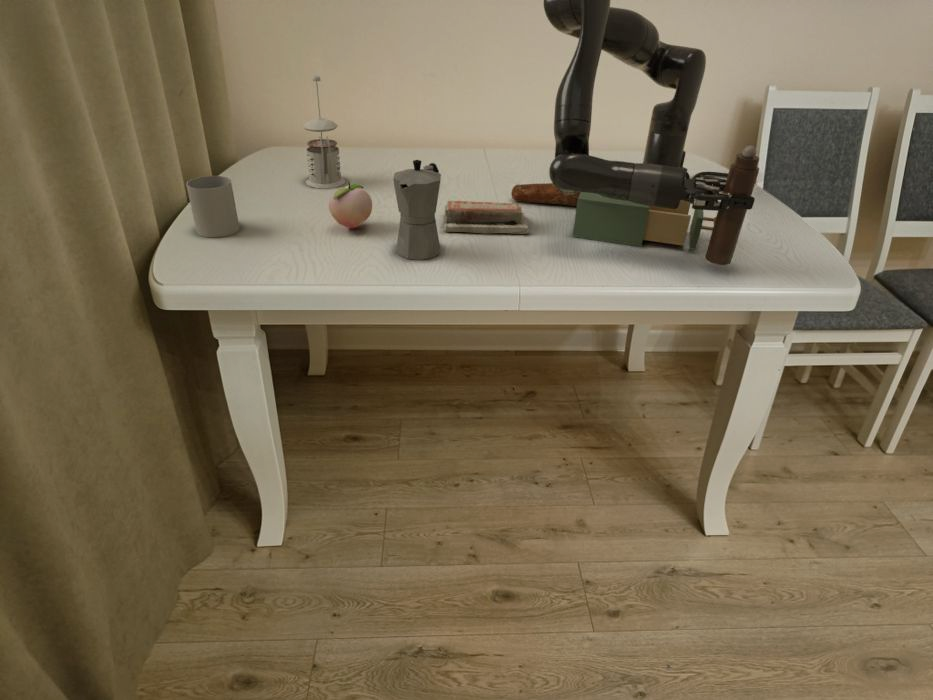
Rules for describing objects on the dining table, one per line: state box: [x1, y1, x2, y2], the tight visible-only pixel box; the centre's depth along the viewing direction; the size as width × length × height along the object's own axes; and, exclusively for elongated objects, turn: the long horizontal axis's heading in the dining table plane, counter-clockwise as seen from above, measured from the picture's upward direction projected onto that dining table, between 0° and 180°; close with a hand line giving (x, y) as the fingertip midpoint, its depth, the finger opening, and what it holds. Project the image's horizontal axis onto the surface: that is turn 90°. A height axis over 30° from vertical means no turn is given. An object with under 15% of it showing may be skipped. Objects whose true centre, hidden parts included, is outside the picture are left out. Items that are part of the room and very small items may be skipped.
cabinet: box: [572, 192, 649, 248], centre depth 133 cm, size 14×12×8 cm
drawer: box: [643, 200, 716, 250], centre depth 130 cm, size 18×11×7 cm, turn 73°
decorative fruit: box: [328, 181, 373, 229], centre depth 129 cm, size 9×8×10 cm
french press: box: [302, 74, 346, 189], centre depth 149 cm, size 10×12×25 cm
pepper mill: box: [704, 144, 760, 266], centre depth 114 cm, size 5×5×22 cm
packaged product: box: [443, 200, 529, 235], centre depth 135 cm, size 18×5×10 cm
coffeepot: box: [392, 159, 442, 261], centre depth 120 cm, size 15×9×18 cm, turn 159°
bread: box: [511, 182, 581, 207], centre depth 148 cm, size 6×19×6 cm, turn 81°
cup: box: [186, 175, 240, 238], centre depth 127 cm, size 8×8×10 cm
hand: (751, 198), depth 112 cm, fingers closed on pepper mill, 5 cm apart
